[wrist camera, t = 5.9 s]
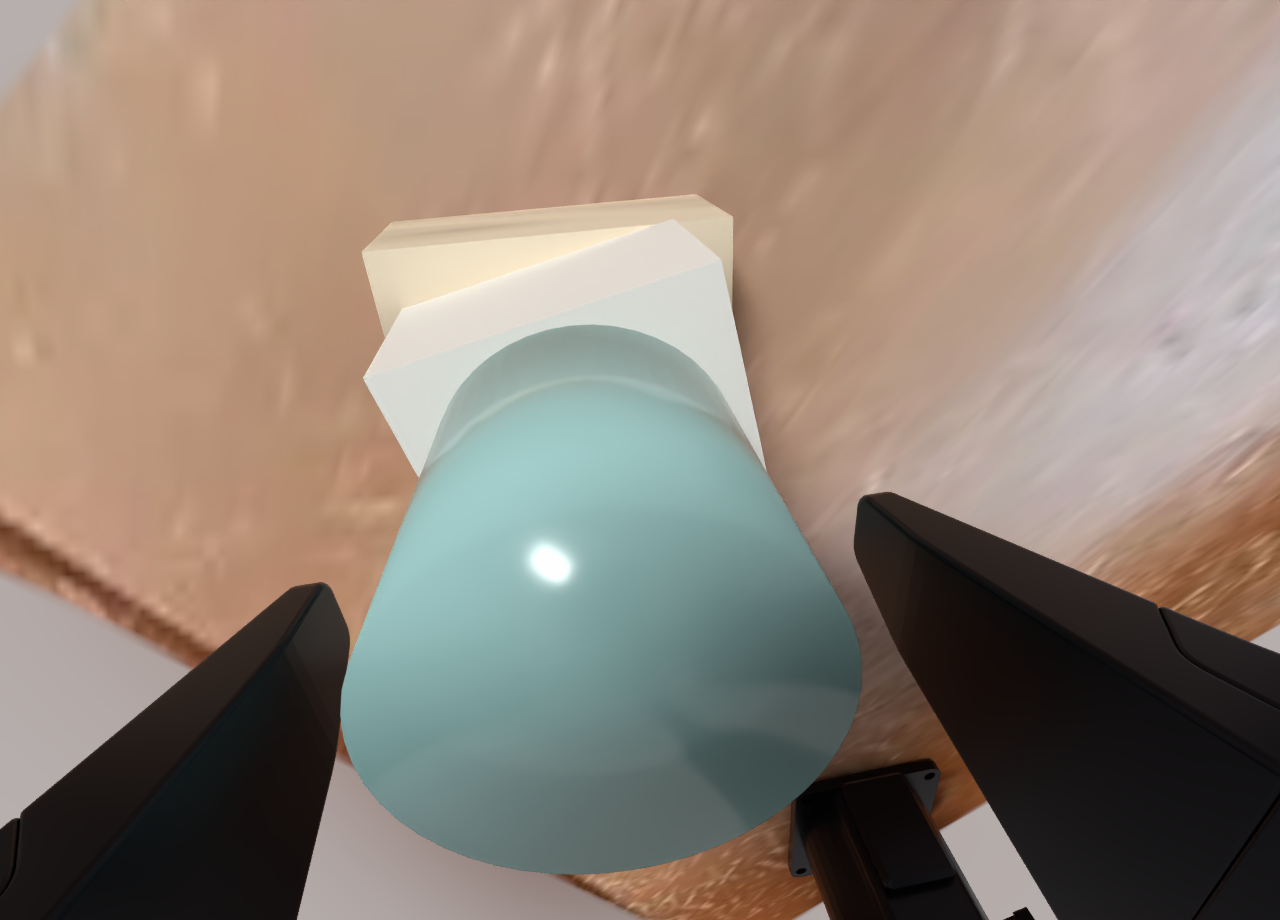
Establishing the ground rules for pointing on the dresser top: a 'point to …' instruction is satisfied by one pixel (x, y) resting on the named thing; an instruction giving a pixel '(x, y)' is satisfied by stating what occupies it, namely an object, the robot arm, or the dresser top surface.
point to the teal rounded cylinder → (596, 621)
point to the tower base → (518, 244)
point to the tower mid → (562, 324)
